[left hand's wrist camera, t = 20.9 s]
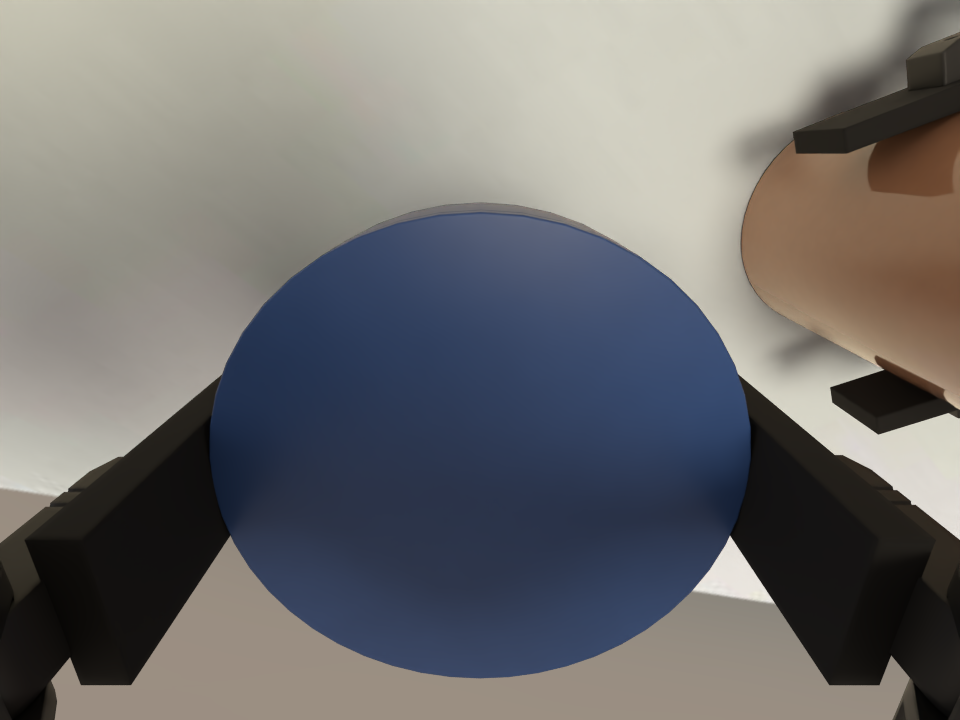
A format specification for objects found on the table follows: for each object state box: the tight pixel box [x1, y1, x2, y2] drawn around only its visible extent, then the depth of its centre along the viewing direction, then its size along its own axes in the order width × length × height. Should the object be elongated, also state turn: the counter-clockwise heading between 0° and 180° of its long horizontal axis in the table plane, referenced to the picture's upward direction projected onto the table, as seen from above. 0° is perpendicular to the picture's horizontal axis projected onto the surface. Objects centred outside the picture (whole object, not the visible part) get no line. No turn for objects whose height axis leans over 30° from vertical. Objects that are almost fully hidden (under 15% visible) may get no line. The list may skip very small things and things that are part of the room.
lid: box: [209, 203, 751, 678], centre depth 11 cm, size 11×11×2 cm
